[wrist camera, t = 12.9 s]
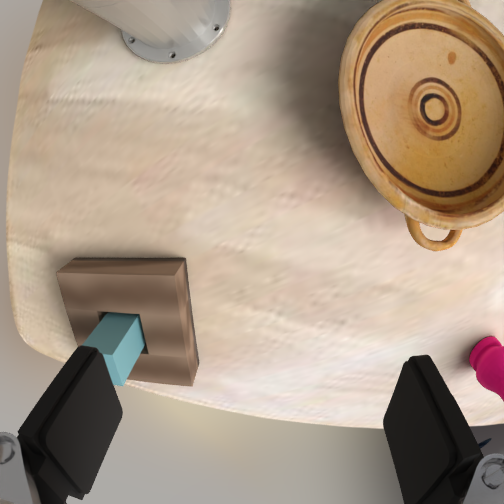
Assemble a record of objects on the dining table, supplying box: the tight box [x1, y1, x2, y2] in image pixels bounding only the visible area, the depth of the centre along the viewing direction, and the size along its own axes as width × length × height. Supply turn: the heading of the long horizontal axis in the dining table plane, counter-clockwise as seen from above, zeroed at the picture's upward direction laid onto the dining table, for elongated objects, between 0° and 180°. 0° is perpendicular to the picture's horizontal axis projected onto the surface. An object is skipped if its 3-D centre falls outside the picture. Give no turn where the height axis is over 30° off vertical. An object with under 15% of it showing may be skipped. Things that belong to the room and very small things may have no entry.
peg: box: [82, 312, 146, 386], centre depth 35 cm, size 4×4×11 cm
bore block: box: [56, 258, 199, 386], centre depth 39 cm, size 16×16×5 cm
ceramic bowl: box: [338, 0, 504, 251], centre depth 27 cm, size 30×24×8 cm
